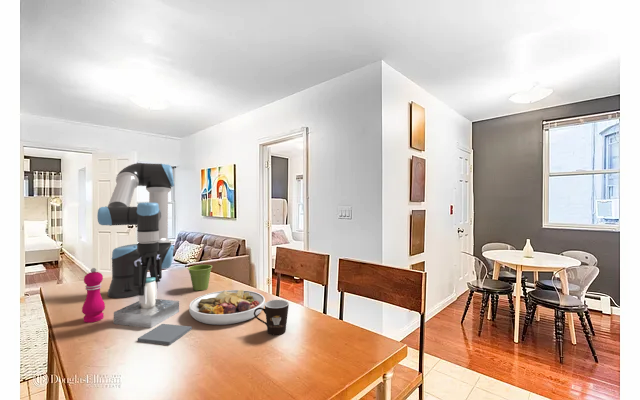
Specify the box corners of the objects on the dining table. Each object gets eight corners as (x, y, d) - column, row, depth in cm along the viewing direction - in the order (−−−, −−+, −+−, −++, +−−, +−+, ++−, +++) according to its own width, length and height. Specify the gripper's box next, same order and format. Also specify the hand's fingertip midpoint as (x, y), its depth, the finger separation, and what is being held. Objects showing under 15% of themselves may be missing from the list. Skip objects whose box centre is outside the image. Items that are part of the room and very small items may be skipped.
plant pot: (195, 285, 168) (195, 264, 168) (216, 286, 166) (216, 264, 166) (182, 291, 156) (182, 269, 156) (205, 293, 154) (205, 270, 154)
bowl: (176, 313, 129) (176, 294, 129) (239, 296, 151) (239, 279, 151) (212, 336, 109) (212, 313, 109) (279, 312, 131) (279, 293, 131)
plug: (147, 313, 127) (147, 276, 126) (158, 314, 126) (158, 277, 125) (138, 318, 122) (137, 279, 121) (149, 319, 121) (149, 280, 120)
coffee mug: (292, 328, 115) (292, 301, 115) (282, 338, 107) (282, 309, 107) (264, 323, 119) (264, 297, 119) (252, 333, 111) (252, 305, 110)
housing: (145, 308, 133) (145, 298, 133) (179, 311, 130) (179, 300, 130) (113, 324, 117) (113, 312, 117) (151, 327, 114) (151, 315, 114)
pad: (162, 326, 116) (162, 323, 116) (191, 329, 113) (191, 326, 113) (137, 341, 104) (137, 338, 104) (169, 344, 102) (169, 341, 102)
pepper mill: (93, 324, 117) (92, 270, 117) (77, 322, 119) (76, 269, 118) (109, 316, 124) (109, 266, 124) (94, 315, 126) (94, 265, 125)
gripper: (155, 238, 133) (156, 292, 133) (121, 245, 115) (121, 308, 116) (171, 238, 131) (171, 294, 132) (139, 246, 114) (139, 309, 114)
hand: (148, 300), depth 124 cm, fingers closed on plug, 5 cm apart
